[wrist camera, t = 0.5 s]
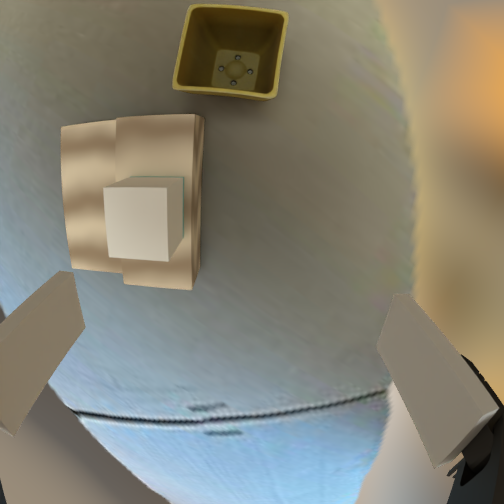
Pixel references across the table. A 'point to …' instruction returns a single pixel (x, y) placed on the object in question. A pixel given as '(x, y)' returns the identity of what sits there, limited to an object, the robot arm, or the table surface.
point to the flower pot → (231, 51)
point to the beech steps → (121, 167)
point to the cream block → (144, 217)
